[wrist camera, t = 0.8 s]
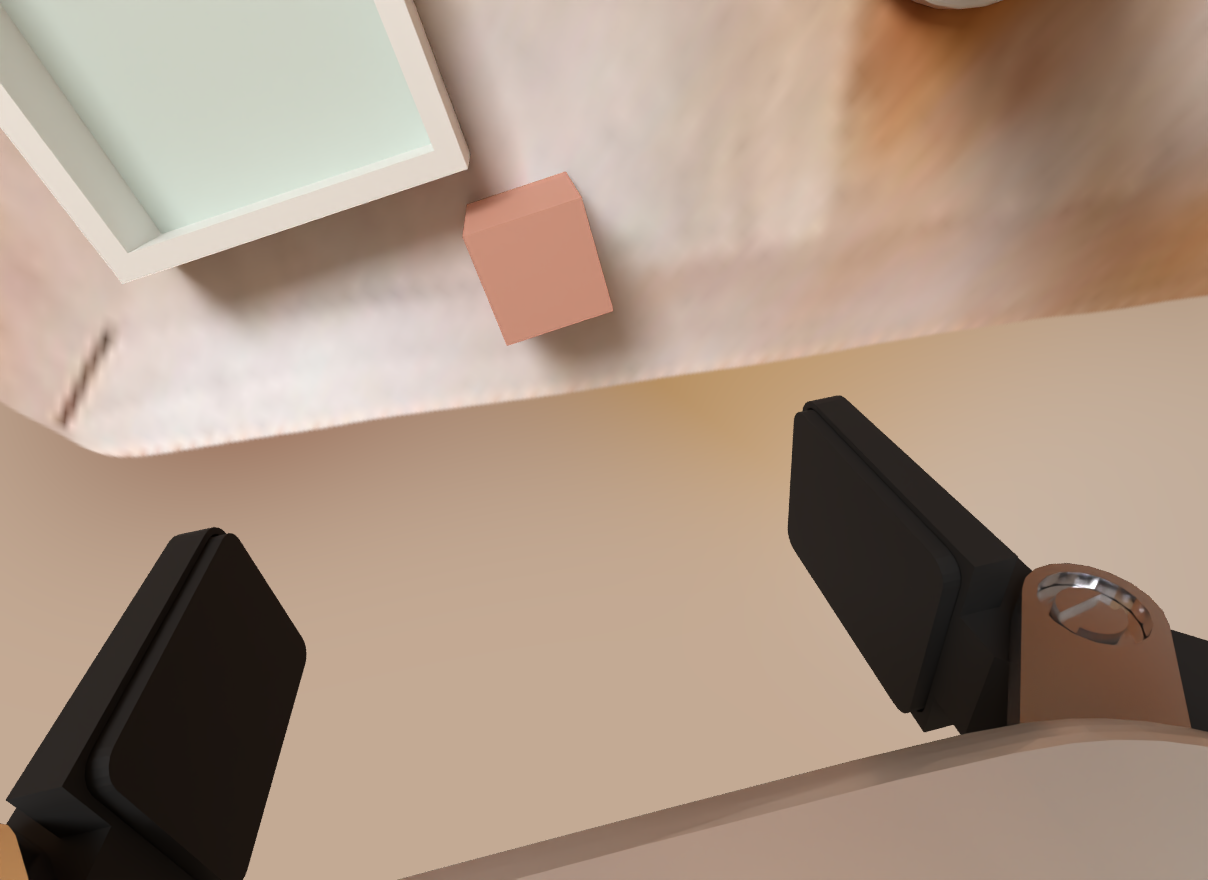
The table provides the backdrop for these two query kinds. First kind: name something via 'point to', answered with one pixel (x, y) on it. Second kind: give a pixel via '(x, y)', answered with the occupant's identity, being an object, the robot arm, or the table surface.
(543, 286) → the pink block
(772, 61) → the table surface
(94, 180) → the tray
